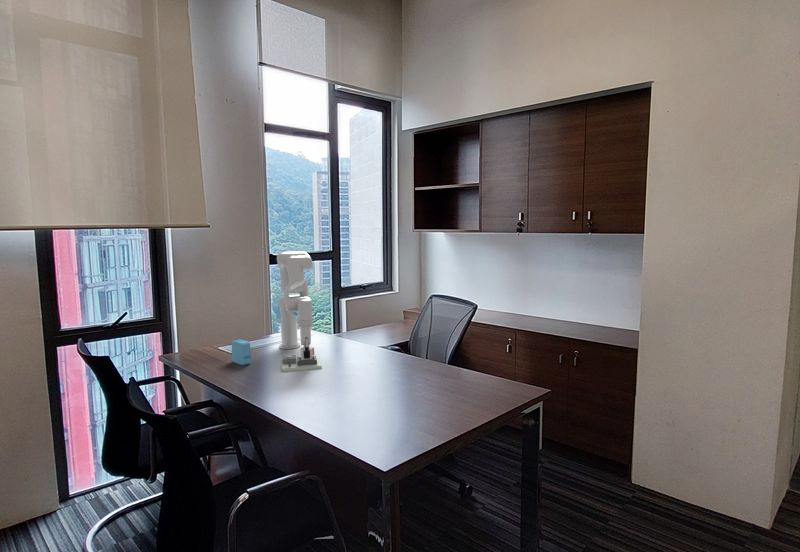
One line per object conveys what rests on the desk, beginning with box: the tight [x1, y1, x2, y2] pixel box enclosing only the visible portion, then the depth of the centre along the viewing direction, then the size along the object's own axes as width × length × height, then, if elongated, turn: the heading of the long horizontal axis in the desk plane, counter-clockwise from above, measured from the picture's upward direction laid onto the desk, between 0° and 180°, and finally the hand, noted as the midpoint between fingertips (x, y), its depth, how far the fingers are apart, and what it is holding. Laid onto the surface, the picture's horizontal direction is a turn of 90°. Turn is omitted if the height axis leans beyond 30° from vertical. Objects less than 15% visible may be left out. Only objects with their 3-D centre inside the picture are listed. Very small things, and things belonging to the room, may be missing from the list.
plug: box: [299, 346, 315, 360], centre depth 252 cm, size 4×7×8 cm, turn 104°
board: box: [281, 354, 323, 373], centre depth 252 cm, size 16×20×5 cm
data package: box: [230, 338, 252, 366], centre depth 259 cm, size 12×4×12 cm, turn 48°
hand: (306, 356), depth 251 cm, fingers open, 4 cm apart
